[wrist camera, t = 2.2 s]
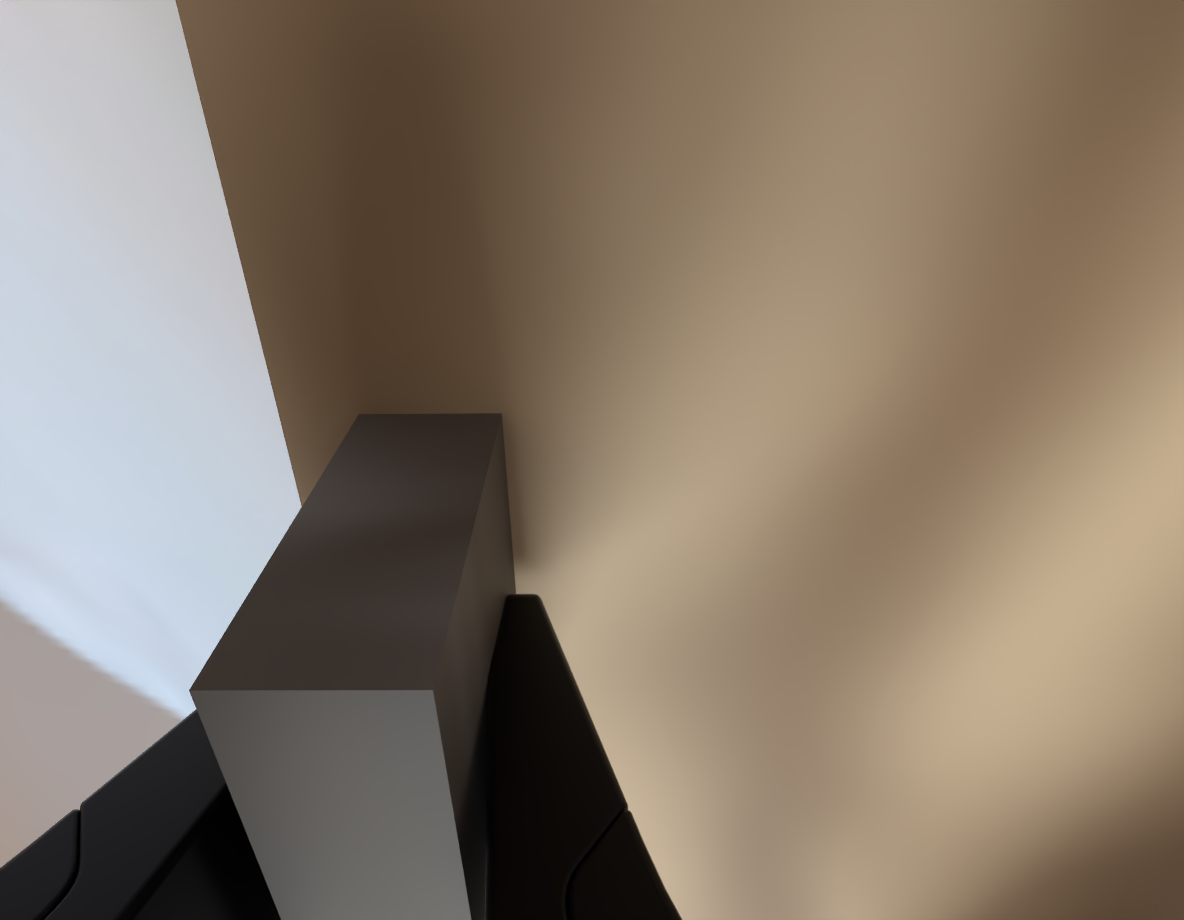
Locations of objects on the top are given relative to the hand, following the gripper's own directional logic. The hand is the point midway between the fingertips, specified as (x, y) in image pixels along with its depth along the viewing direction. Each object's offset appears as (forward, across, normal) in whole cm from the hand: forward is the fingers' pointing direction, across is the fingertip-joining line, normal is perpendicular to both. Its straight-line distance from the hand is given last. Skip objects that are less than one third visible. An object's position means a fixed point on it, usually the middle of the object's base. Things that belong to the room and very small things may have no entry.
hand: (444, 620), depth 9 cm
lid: (+1, -6, 0) cm, 6 cm away
